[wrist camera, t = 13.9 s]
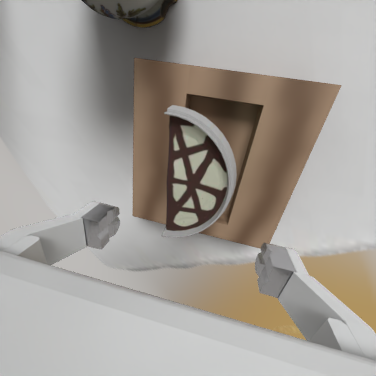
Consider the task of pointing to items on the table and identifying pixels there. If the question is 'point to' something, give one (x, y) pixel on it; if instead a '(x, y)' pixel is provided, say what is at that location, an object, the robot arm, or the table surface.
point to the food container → (196, 173)
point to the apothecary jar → (132, 10)
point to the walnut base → (229, 139)
